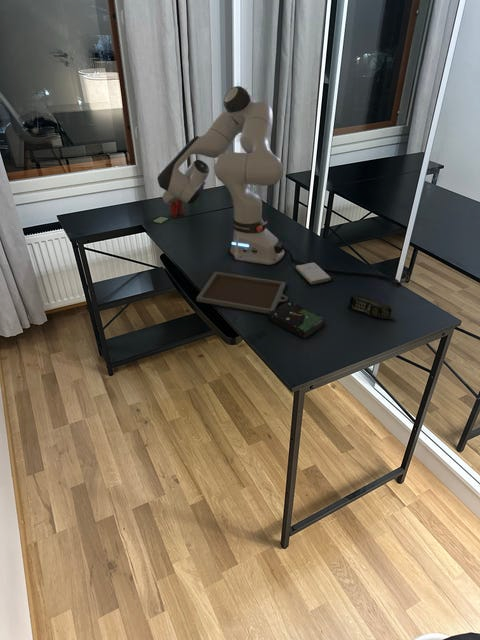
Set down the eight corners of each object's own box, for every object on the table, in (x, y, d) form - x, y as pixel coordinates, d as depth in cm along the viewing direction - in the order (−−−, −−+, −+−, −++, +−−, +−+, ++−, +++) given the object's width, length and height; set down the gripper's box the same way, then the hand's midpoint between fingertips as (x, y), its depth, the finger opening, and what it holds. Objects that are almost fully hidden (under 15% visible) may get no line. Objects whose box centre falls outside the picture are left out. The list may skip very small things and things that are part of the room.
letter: (182, 214, 210) (181, 194, 204) (174, 217, 208) (172, 197, 202) (179, 213, 212) (177, 193, 206) (171, 215, 209) (169, 195, 203)
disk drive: (268, 320, 140) (305, 339, 132) (268, 313, 138) (306, 331, 130) (287, 307, 146) (324, 324, 138) (288, 300, 145) (325, 317, 136)
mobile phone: (349, 296, 142) (394, 310, 135) (353, 292, 144) (398, 305, 137) (347, 309, 145) (392, 323, 138) (351, 305, 147) (395, 318, 140)
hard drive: (310, 285, 157) (295, 269, 167) (330, 280, 160) (314, 265, 169) (311, 281, 156) (295, 265, 166) (331, 277, 159) (314, 261, 168)
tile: (168, 218, 206) (168, 218, 206) (160, 223, 202) (160, 223, 202) (160, 216, 208) (160, 216, 208) (152, 221, 204) (152, 221, 204)
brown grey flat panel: (214, 271, 162) (293, 283, 155) (214, 274, 163) (292, 287, 156) (195, 297, 148) (281, 312, 140) (196, 301, 148) (281, 316, 141)
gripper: (203, 174, 199) (192, 189, 210) (166, 184, 188) (156, 200, 199) (210, 186, 198) (198, 201, 210) (173, 197, 188) (163, 212, 199)
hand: (177, 200), depth 205 cm, fingers open, 8 cm apart
